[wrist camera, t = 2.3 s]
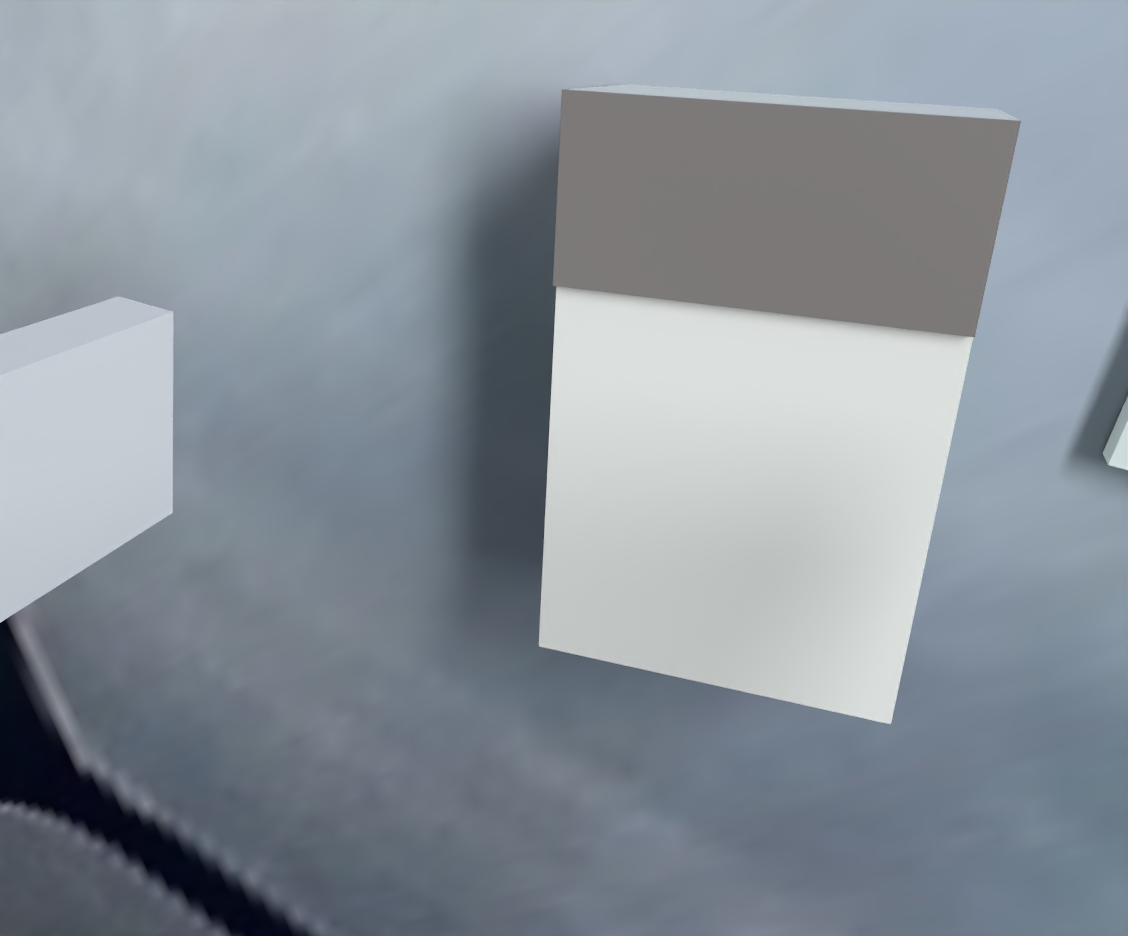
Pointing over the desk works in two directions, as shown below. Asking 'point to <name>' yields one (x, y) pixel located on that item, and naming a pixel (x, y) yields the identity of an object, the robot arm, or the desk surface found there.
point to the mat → (1118, 441)
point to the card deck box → (759, 378)
